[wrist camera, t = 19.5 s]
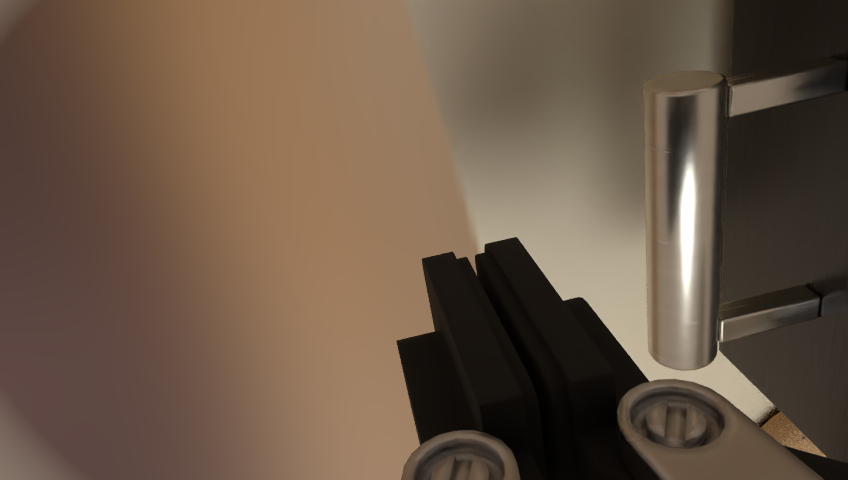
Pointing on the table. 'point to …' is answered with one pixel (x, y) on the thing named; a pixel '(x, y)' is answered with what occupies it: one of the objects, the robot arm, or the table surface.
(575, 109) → the table surface
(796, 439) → the candle holder
